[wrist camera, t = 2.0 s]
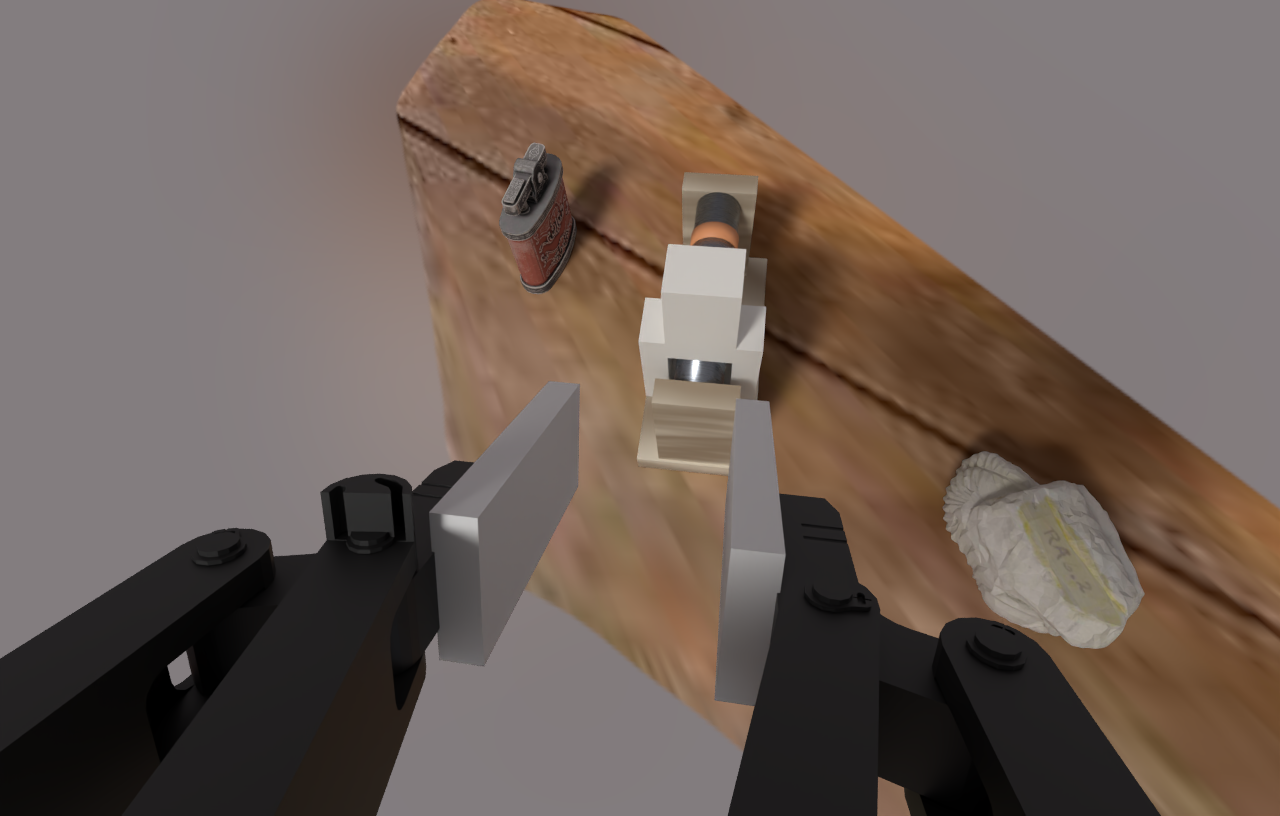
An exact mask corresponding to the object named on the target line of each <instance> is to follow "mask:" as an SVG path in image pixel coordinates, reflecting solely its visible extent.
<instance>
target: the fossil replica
mask: <svg viewBox="0 0 1280 816" xmlns="http://www.w3.org/2000/svg"><path fill="white" fill-rule="evenodd" d="M956 474H957V476H956V477H954V478H952V479H951V481H950V483H951V485H950V486H948V487H946V491H947V494H946V496H944V497H943V499H944V501H945V502H946V503H945V504H944V506H943V510H944V511H945V512H946V514H945V516H944V517H943V519H944V520H945V521H946V522H948V523H947V526H946V529H947V531H949V532H951V539H952V540H953V541H954V542H956V543H958V545H959V549H960V552H962V553H964V554H965V555H966V558H967V564H968V565H970V566H971V567H972V569H973V576H972V577H973V578H974V579H976V581H977V585H978V589H979V590H980V591H981V593H982V598H983V600H984V601H985V603H986V604H987V605H988V606H989V608H990V609H991V610H993V611H994V612H995V613H997V614H998V615H999V616H1001V617H1004V618H1006V619H1007V620H1008V621H1010V622H1012V623H1015V624H1018V625H1020V626H1022V627H1026V628H1029V629H1031V630H1034V631H1036V632H1039V633H1049V634H1051V635H1053V636H1062V637H1063V639H1064V640H1065V641H1066V642H1068V643H1069V644H1070V645H1071V646H1077V647H1080V648H1094V649H1098V648H1104V647H1106V646H1108V645H1109V644H1110V643H1111V642H1113V641H1114V640H1115V639H1116V638H1117V637H1118V636H1119V635H1120V634H1121V632H1122V631H1123V629H1124V626H1125V624H1126V620H1127V619H1128V618H1129V617H1130V616H1131V615H1132V614H1133V613H1134V611H1135V610H1136V609H1137V608H1138V606H1139V604H1140V602H1141V598H1142V597H1143V596H1144V592H1143V590H1142V588H1141V585H1140V583H1139V580H1138V577H1137V574H1136V571H1135V568H1134V567H1133V565H1132V563H1131V562H1130V560H1129V558H1128V557H1127V554H1126V552H1125V550H1124V548H1123V546H1122V544H1121V541H1120V538H1119V535H1118V533H1117V531H1116V529H1115V527H1114V524H1113V523H1112V522H1111V521H1110V518H1109V516H1108V513H1107V512H1106V511H1105V510H1103V509H1102V507H1101V505H1100V504H1099V503H1098V502H1097V500H1096V499H1095V498H1094V497H1093V496H1092V495H1091V494H1090V493H1089V492H1088V491H1087V489H1086V488H1085V486H1084V485H1076V484H1075V483H1069V482H1067V481H1065V480H1064V481H1056V482H1054V481H1053V482H1052V483H1049V484H1044V485H1040V484H1038V483H1037V482H1035V481H1034V480H1033V479H1032V478H1031V477H1030V476H1029V475H1028V474H1027V473H1026V472H1024V471H1023V470H1022V469H1021V468H1020V467H1018V466H1016V465H1013V464H1012V463H1011V462H1007V461H1006V460H1005V459H1003V458H1002V457H1000V456H999V455H998V454H995V453H989V452H987V451H983V452H980V453H979V454H973V455H972V456H971V457H970V458H968V459H964V460H963V461H962V466H961V467H960V468H958V469H957V470H956Z"/></svg>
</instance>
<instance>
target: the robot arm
mask: <svg viewBox="0 0 1280 816" xmlns="http://www.w3.org/2000/svg"><path fill="white" fill-rule="evenodd" d="M579 399H580V384H573V383H563V382H552V381H549V382H548V383H547V384H546V385H545V386H544V387H543V388H542V389H541V391H540V392H539V393H538V394H537V395H536V396H535V397H534V398H533V399H532V400H531V402H530V403H529V404H528V405H527V406H526V407H525V408H524V409H523V410H522V411H521V412H520V414H519V415H518V416H517V417H516V418H515V419H514V420H513V421H512V422H511V423H510V424H509V426H508V427H507V428H506V429H505V430H504V431H503V432H502V433H501V434H500V435H499V436H498V438H497V439H496V440H495V441H494V442H493V443H492V444H491V445H490V446H489V447H488V449H487V450H486V451H485V452H484V453H483V454H482V455H481V456H480V457H479V458H478V459H477V461H476V462H475V463H473V462H464V461H453V462H451V463H449V464H447V465H444V466H442V467H440V468H438V469H436V470H434V471H433V472H432V473H431V474H430V475H429V476H428V477H427V478H426V479H425V480H424V481H423V482H422V484H421V485H419V486H418V487H417V488H416V489H414V490H413V491H412V486H411V485H410V484H409V483H408V481H407V480H405V479H403V478H400V477H398V476H395V475H386V474H367V475H359V476H355V477H350V478H345V479H343V480H340V481H338V482H336V483H333V484H331V485H329V486H328V487H327V488H325V489H324V490H323V491H322V492H321V500H322V507H323V515H324V523H325V530H326V538H327V541H326V542H325V543H324V545H323V546H322V547H321V549H320V550H319V551H318V553H316V554H305V555H290V556H275V557H273V551H272V545H271V540H270V538H269V537H268V536H267V535H266V534H265V533H263V532H260V531H257V530H254V529H238V528H231V529H227V530H225V529H222V530H217V531H214V532H212V533H210V534H207V535H203V536H200V537H197V538H195V539H193V540H191V541H189V542H187V543H185V544H183V545H181V546H179V547H178V548H176V549H175V550H173V551H171V552H170V553H168V554H167V555H165V556H163V557H162V558H160V559H159V560H157V561H155V562H154V563H152V564H151V565H149V566H147V567H146V568H144V569H143V570H141V571H140V572H138V573H136V574H135V575H133V576H131V577H130V578H128V579H127V580H125V581H123V582H122V583H120V584H119V585H117V586H116V587H114V588H112V589H111V590H109V591H108V592H106V593H104V594H103V595H101V596H100V597H98V598H96V599H95V600H93V601H92V602H90V603H88V604H87V605H85V606H84V607H82V608H80V609H79V610H77V611H76V612H74V613H72V614H71V615H69V616H68V617H66V618H64V619H63V620H61V621H60V622H58V623H57V624H55V625H53V626H52V627H50V628H48V629H47V630H45V631H44V632H42V633H40V634H39V635H37V636H36V637H34V638H32V639H31V640H29V641H28V642H26V643H25V644H23V645H21V646H20V647H18V648H17V649H15V650H13V651H12V652H10V653H9V654H7V655H5V656H4V657H2V658H1V659H0V816H376V815H377V812H378V809H379V806H380V803H381V800H382V798H383V795H384V792H385V789H386V787H387V784H388V781H389V778H390V775H391V772H392V770H393V767H394V764H395V761H396V759H397V756H398V753H399V750H400V747H401V744H402V742H403V739H404V736H405V733H406V731H407V728H408V725H409V722H410V719H411V716H412V714H413V711H414V708H415V705H416V702H417V700H418V697H419V694H420V691H421V688H422V686H423V683H424V680H425V675H426V659H425V650H426V648H427V647H428V645H429V644H430V642H431V641H432V639H433V638H434V636H435V634H436V633H438V645H439V646H438V647H439V660H443V661H451V662H457V663H464V664H471V665H477V666H484V665H485V663H486V662H487V660H488V657H489V656H490V654H491V652H492V650H493V648H494V646H495V644H496V642H497V641H498V638H499V637H500V635H501V633H502V631H503V629H504V627H505V625H506V623H507V621H508V619H509V618H510V616H511V614H512V612H513V610H514V608H515V606H516V604H517V602H518V600H519V598H520V596H521V595H522V593H523V591H524V589H525V587H526V585H527V583H528V581H529V579H530V577H531V575H532V573H533V572H534V570H535V568H536V566H537V564H538V562H539V560H540V558H541V556H542V554H543V552H544V551H545V549H546V547H547V545H548V543H549V541H550V539H551V537H552V535H553V533H554V531H555V529H556V528H557V526H558V524H559V522H560V520H561V518H562V516H563V514H564V512H565V510H566V508H567V506H568V505H569V503H570V501H571V499H572V497H573V495H574V493H575V491H576V489H577V487H578V461H579ZM185 651H186V652H187V656H188V660H189V665H190V669H191V673H192V674H191V675H190V676H189V677H188V678H186V679H185V680H184V681H183V682H181V683H180V684H178V685H176V686H174V685H173V684H172V683H171V679H170V675H169V671H168V667H167V665H168V664H170V663H171V662H172V661H174V660H175V659H176V658H177V657H178V656H180V655H181V654H182V653H183V652H185ZM715 700H716V701H723V702H730V703H737V704H744V705H750V706H755V707H754V711H753V715H752V719H751V723H750V728H749V732H748V736H747V740H746V744H745V748H744V752H743V756H742V760H741V764H740V768H739V772H738V776H737V780H736V784H735V789H734V792H733V796H732V800H731V804H730V808H729V813H728V816H877V798H878V777H881V778H883V779H885V780H888V781H890V782H892V783H895V784H897V785H899V786H902V787H904V792H905V798H906V801H907V805H908V808H909V811H910V814H911V816H1161V815H1160V814H1159V812H1158V811H1157V809H1156V808H1155V807H1154V805H1153V804H1152V802H1151V801H1150V799H1149V798H1148V797H1147V795H1146V794H1145V792H1144V791H1143V789H1142V788H1141V786H1140V785H1139V784H1138V782H1137V781H1136V779H1135V778H1134V776H1133V775H1132V774H1131V772H1130V771H1129V769H1128V768H1127V766H1126V765H1125V764H1124V762H1123V761H1122V759H1121V758H1120V756H1119V755H1118V753H1117V752H1116V751H1115V749H1114V748H1113V746H1112V745H1111V743H1110V742H1109V741H1108V739H1107V738H1106V736H1105V735H1104V733H1103V732H1102V731H1101V729H1100V728H1099V726H1098V725H1097V723H1096V722H1095V720H1094V719H1093V718H1092V716H1091V715H1090V713H1089V712H1088V710H1087V709H1086V708H1085V706H1084V705H1083V703H1082V702H1081V700H1080V699H1079V698H1078V696H1077V695H1076V693H1075V692H1074V690H1073V689H1072V687H1071V686H1070V685H1069V683H1068V682H1067V680H1066V679H1065V677H1064V676H1063V675H1062V673H1061V672H1060V670H1059V669H1058V667H1057V666H1056V665H1055V663H1054V662H1053V660H1052V659H1051V657H1050V656H1049V655H1048V654H1047V653H1046V652H1045V651H1044V650H1043V649H1042V648H1041V647H1040V646H1039V645H1038V643H1037V642H1035V641H1034V640H1032V639H1031V638H1029V637H1027V636H1026V635H1024V634H1023V633H1021V632H1020V631H1018V630H1016V629H1014V628H1012V627H1010V626H1007V625H1004V624H1002V623H999V622H996V621H990V620H985V619H980V618H958V619H955V620H953V621H950V622H948V623H946V624H945V626H944V627H943V629H942V631H941V632H940V636H939V638H936V637H933V636H930V635H927V634H924V633H920V632H917V631H914V630H911V629H909V628H906V627H904V626H901V625H899V624H896V623H894V622H893V621H891V620H889V619H887V618H885V617H884V616H882V615H881V614H880V608H879V604H878V601H877V598H876V597H875V596H874V595H873V594H872V593H871V592H870V591H869V590H868V589H867V588H866V587H865V586H863V585H861V584H860V583H858V579H857V576H856V572H855V568H854V565H853V561H852V557H851V554H850V550H849V547H848V544H847V539H846V536H845V532H844V531H843V525H842V521H841V517H840V514H839V512H838V511H837V510H836V509H835V508H834V507H833V506H832V505H831V504H830V503H829V502H828V501H826V500H825V499H824V498H815V497H806V496H796V495H787V494H779V489H778V479H777V470H776V460H775V451H774V442H773V432H772V423H771V414H770V404H769V401H759V400H748V399H737V398H736V406H735V416H734V426H733V435H732V445H731V455H730V465H729V474H728V484H727V494H726V505H725V522H724V540H723V558H722V576H721V594H720V612H719V630H718V648H717V666H716V684H715Z"/></svg>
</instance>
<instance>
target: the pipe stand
mask: <svg viewBox="0 0 1280 816" xmlns="http://www.w3.org/2000/svg"><path fill="white" fill-rule="evenodd" d="M757 186H758V176H747V175H727V174H708V173H688V172H685V173H684V180H683V187H682V214H683V245H690V246H705V247H721V248H736V249H746V259H745V270H744V282H743V293H742V303H741V305H751V306H764V299H765V284H766V270H767V259H764V258H749V254H750V246H751V237H752V229H753V221H754V213H755V205H756V197H757ZM661 299H662V298H661ZM725 364H726V363H722V362H710V361H698V360H686V359H677V362H676V369H675V377H674V380H670V379H659V378H655V382H654V389H653V396H652V397H651V396H646V401H645V408H644V415H643V422H642V428H641V435H640V442H639V449H638V455H637V462H638V466H639V467H649V468H658V469H668V470H677V471H687V472H696V473H706V474H715V475H725V476H728V474H729V465H730V455H731V445H732V435H733V426H734V416H735V406H736V398H737V399H740V392H741V386H737V385H726V384H724V375H725ZM758 384H759V376H758V381H757V386H756V391H755V397H754V400H757V398H758Z"/></svg>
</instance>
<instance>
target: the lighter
mask: <svg viewBox="0 0 1280 816" xmlns="http://www.w3.org/2000/svg"><path fill="white" fill-rule="evenodd" d="M562 175H563V167H562V163H561V161H560V159H559V158H558V157H557V156H555V155H552V154H547V153H546V151H545V147H544V145H543V144H540V143H533V144H531V145H530V146H529V148H528V150H527V152H526V154H525V156H524V158H523V159H521V158H518V159H517V160H516V162H515V164H514V173H513V179H512V181H511V183H510V185H509V187H508V189H507V191H506V193H505V195H504V197H503V199H502V205H503V209H502V213H501V216H500V220H499V225H500V228H501V230H502V233H503V235H504V236H505V237H506V238H507V239H508V242H509V244H510V247H511V249H512V252H513V255H514V257H515V260H516V263H517V265H518V268H519V270H520V273H521V274H520V280H521V282H522V285H523V287H524V289H525V290H527V291H528V292H530V293H532V294H542V293H545V292H547V291H549V290H550V289H551V288H552V286H553V285H554V283H555V282H556V280H557V279H558V278H559V276H560V275H561V273H562V271H563V269H564V267H565V265H566V263H567V262H568V260H569V257H570V254H571V251H572V248H573V245H574V241H575V236H576V231H577V229H576V223H575V220H574V218H573V217H572V216H571V212H570V208H569V204H568V199H567V195H566V191H565V187H564V183H563V178H562Z"/></svg>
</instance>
